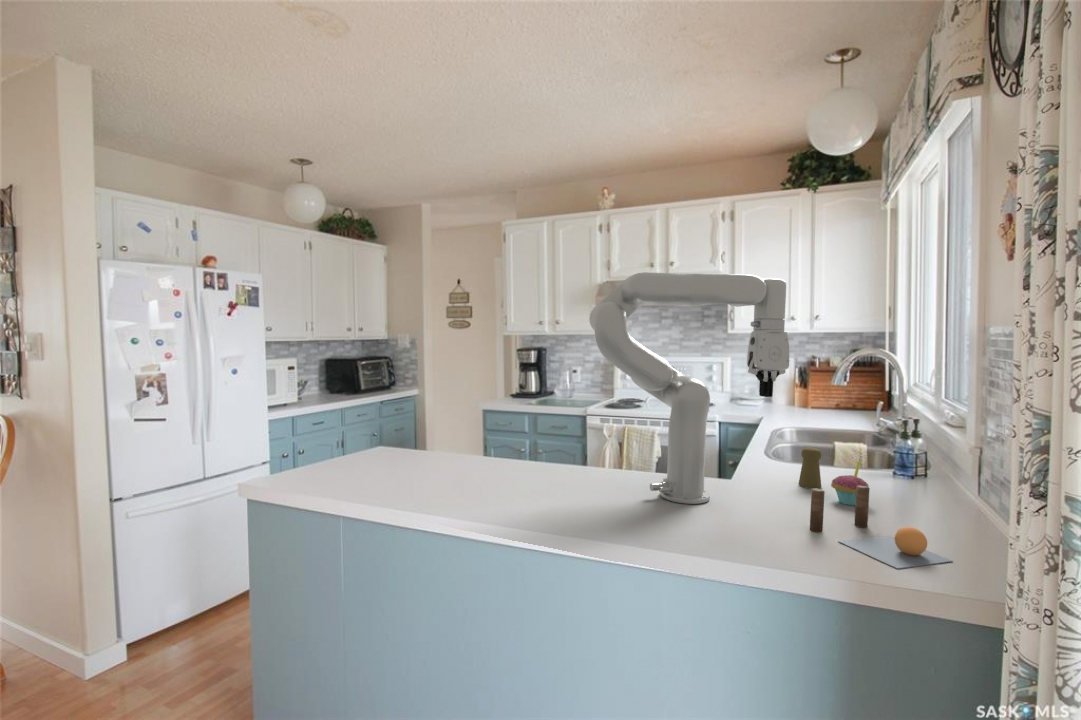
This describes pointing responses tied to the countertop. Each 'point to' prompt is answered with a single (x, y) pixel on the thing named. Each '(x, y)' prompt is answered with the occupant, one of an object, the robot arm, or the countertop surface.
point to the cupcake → (848, 487)
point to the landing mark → (892, 552)
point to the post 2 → (862, 506)
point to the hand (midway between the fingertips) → (765, 396)
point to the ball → (910, 541)
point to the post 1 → (817, 510)
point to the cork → (810, 468)
